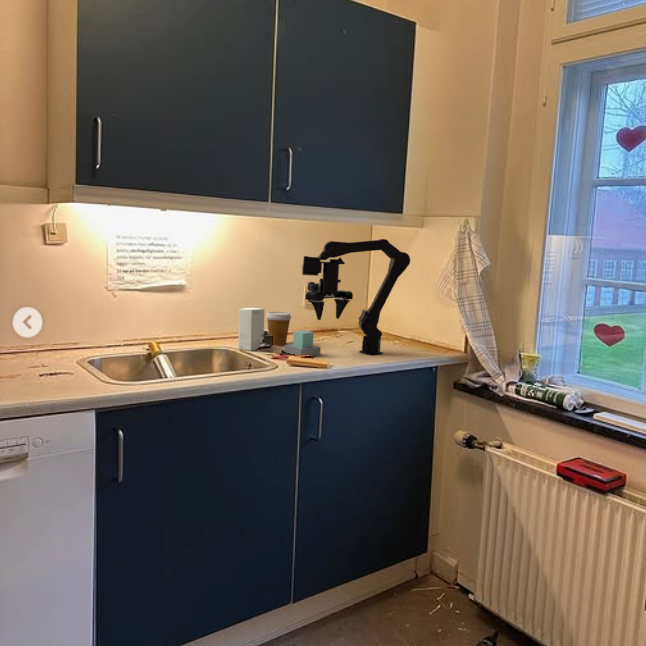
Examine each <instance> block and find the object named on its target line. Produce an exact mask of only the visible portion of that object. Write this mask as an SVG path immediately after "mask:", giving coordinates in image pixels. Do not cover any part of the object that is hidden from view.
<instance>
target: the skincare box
mask: <svg viewBox="0 0 646 646" xmlns="http://www.w3.org/2000/svg"><path fill="white" fill-rule="evenodd" d="M238 311H239V312H238V313H239V314H238V344H237V345H238V348H237V349H239V350H243V351H247V350H249V352H253V351H256V349H257V350H259V349H258V348H259V347H260V343H261V341H262V340H263V339H264V338H265V313H266V312H265V308H261V307H243V308H239V309H238ZM264 340H265V339H264ZM252 350H253V351H252Z"/></svg>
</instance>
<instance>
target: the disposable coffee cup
mask: <svg viewBox="0 0 646 646" xmlns="http://www.w3.org/2000/svg"><path fill="white" fill-rule="evenodd" d="M265 316H266V319H267V330H268V331H267V332H268V333H269V334H270V335H272V336H273V345H274V347H275V346H276V347H282V346H284V347H285V345H287V338H288V333H289V327H290V321H291V319H292V316H291V313H290V312H285V311H268V312H267V314H266V315H265ZM269 334H268V335H269ZM273 345H272V346H273Z"/></svg>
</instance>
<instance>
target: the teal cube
mask: <svg viewBox="0 0 646 646" xmlns="http://www.w3.org/2000/svg"><path fill="white" fill-rule="evenodd" d="M292 336H293V338H292V339H293V340H292V344H293V346H297V347H301V348H305V347H313V345H314V332H313V331H308V330H295V331H293V335H292Z"/></svg>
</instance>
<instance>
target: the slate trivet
mask: <svg viewBox="0 0 646 646" xmlns="http://www.w3.org/2000/svg"><path fill="white" fill-rule="evenodd" d="M283 352H286V353H290V354H295V355H318V356H321V346H319V345H315V344H313V347H305V348H301V347H297V346H293V343H290V344H286V345H284V351H283Z"/></svg>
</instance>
